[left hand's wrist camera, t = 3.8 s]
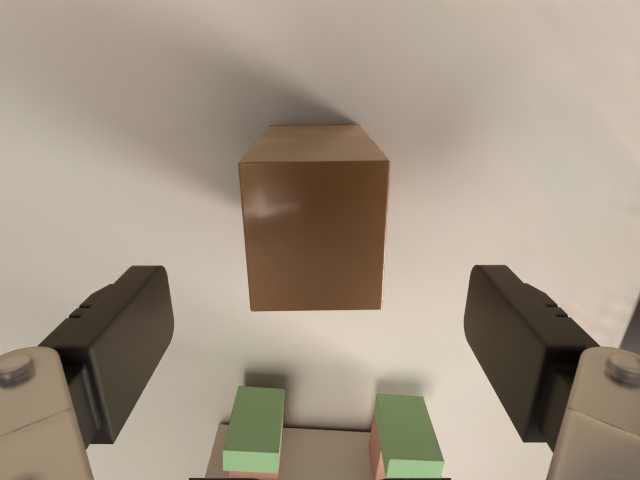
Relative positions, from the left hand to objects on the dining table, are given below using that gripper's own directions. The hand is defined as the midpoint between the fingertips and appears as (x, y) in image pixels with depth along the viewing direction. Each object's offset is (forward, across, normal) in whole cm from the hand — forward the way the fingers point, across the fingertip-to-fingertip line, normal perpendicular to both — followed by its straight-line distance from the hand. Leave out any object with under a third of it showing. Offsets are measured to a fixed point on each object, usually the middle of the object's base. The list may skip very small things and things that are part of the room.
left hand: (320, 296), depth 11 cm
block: (+12, 0, +1) cm, 12 cm away
